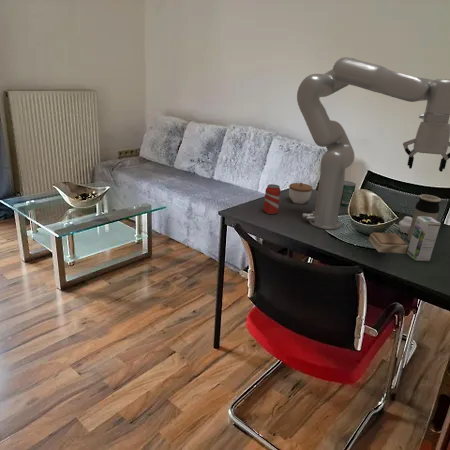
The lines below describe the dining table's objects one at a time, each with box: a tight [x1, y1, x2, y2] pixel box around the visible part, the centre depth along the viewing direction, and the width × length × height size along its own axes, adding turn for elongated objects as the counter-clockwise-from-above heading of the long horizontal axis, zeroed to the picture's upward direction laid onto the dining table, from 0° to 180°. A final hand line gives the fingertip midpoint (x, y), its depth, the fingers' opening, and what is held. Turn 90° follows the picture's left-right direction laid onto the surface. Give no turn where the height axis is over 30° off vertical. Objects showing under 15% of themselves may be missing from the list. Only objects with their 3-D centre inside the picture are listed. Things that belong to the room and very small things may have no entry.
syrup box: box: [406, 216, 442, 262], centre depth 137 cm, size 6×6×14 cm
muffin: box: [398, 215, 413, 235], centre depth 161 cm, size 6×6×7 cm
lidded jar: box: [288, 182, 313, 205], centre depth 189 cm, size 11×11×9 cm
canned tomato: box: [340, 180, 357, 209], centre depth 188 cm, size 8×8×11 cm
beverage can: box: [263, 183, 282, 215], centre depth 171 cm, size 6×6×12 cm
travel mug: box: [406, 194, 442, 242], centre depth 150 cm, size 8×8×18 cm
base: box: [368, 232, 409, 254], centre depth 147 cm, size 10×10×4 cm
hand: (425, 169), depth 138 cm, fingers open, 9 cm apart
